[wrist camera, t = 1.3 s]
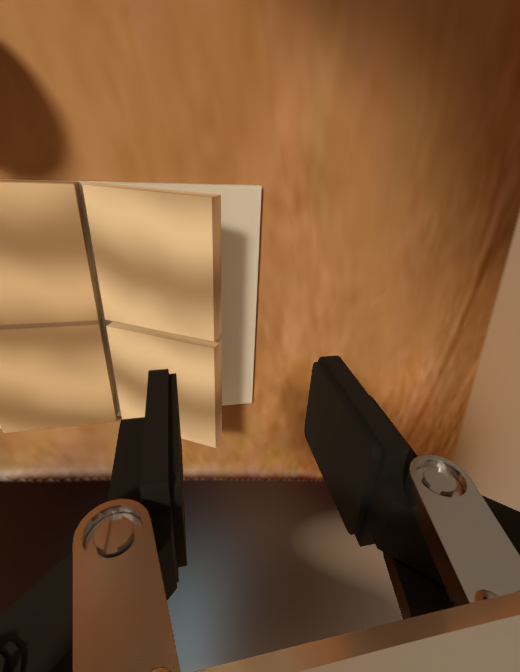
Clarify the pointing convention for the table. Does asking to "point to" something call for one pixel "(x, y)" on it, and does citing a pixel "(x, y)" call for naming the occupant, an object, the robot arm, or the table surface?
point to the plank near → (158, 257)
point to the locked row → (49, 312)
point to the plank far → (178, 357)
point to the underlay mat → (235, 279)
